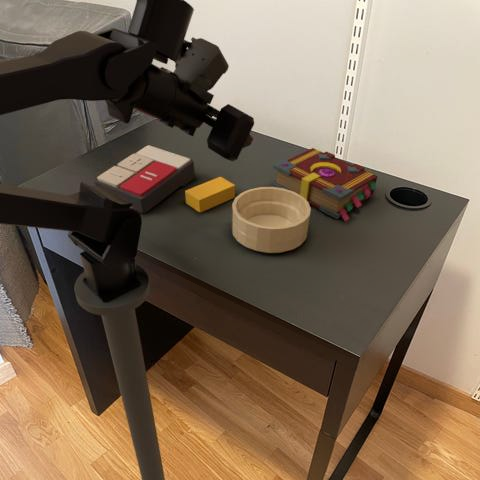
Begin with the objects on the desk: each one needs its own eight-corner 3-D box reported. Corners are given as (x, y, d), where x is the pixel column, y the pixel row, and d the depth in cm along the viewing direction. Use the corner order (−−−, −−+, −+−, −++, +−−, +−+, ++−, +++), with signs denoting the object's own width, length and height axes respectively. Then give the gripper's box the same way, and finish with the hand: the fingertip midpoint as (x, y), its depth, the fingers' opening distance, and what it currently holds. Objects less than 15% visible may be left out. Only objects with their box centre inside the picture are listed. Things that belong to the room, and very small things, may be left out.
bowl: (268, 266, 73) (270, 238, 69) (216, 230, 79) (216, 203, 75) (322, 236, 78) (326, 209, 75) (270, 205, 85) (272, 179, 81)
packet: (199, 212, 83) (199, 200, 81) (185, 203, 85) (185, 190, 83) (234, 197, 86) (235, 185, 85) (220, 188, 89) (220, 176, 87)
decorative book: (310, 168, 95) (313, 143, 92) (379, 200, 87) (385, 174, 84) (271, 187, 89) (273, 162, 86) (341, 223, 81) (346, 197, 78)
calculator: (91, 176, 83) (147, 141, 92) (97, 198, 86) (150, 161, 95) (141, 195, 79) (194, 156, 88) (144, 217, 82) (195, 177, 91)
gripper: (237, 55, 55) (301, 101, 68) (140, 8, 63) (213, 56, 76) (196, 147, 59) (263, 174, 71) (109, 91, 67) (184, 124, 80)
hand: (230, 129), depth 75 cm, fingers open, 9 cm apart
